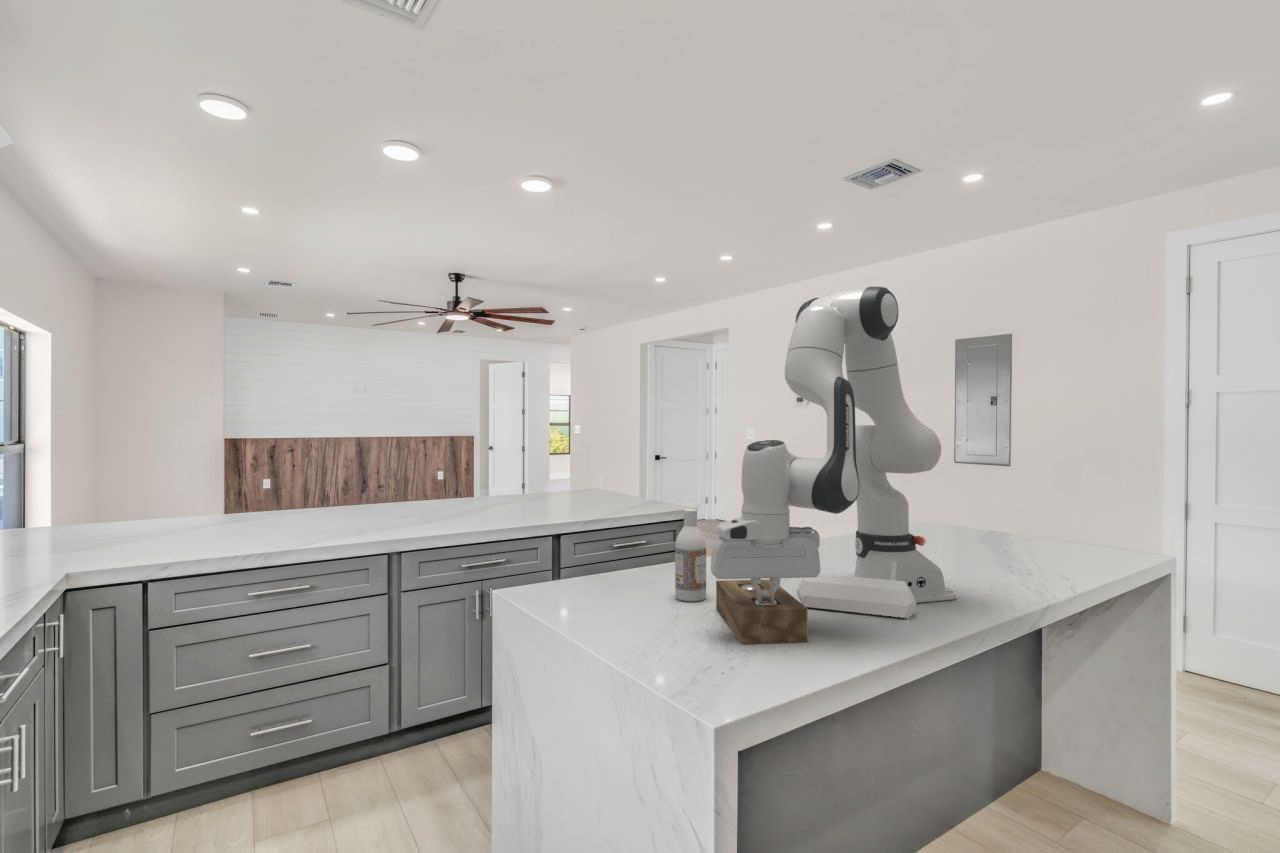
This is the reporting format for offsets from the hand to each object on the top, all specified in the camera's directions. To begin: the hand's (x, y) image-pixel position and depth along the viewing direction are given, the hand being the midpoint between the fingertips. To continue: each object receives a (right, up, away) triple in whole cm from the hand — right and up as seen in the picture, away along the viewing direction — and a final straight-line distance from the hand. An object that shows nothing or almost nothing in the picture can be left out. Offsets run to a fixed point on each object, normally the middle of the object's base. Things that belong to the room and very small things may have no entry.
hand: (765, 601), depth 118 cm
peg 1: (-1, -6, +11) cm, 12 cm away
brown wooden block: (0, -6, +6) cm, 8 cm away
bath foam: (-12, -6, +25) cm, 28 cm away
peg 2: (0, -6, 0) cm, 6 cm away
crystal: (+22, -7, +16) cm, 28 cm away
